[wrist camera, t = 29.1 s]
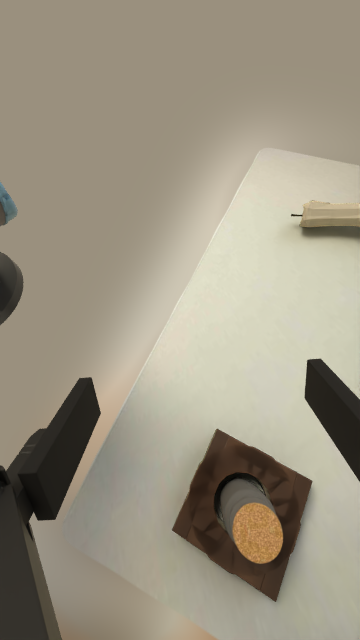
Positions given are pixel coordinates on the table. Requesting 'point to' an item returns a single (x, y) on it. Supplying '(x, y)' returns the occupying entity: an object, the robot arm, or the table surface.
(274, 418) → the table surface
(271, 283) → the table surface
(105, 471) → the table surface
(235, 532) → the bottle
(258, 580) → the socket plate
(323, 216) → the faceted club
